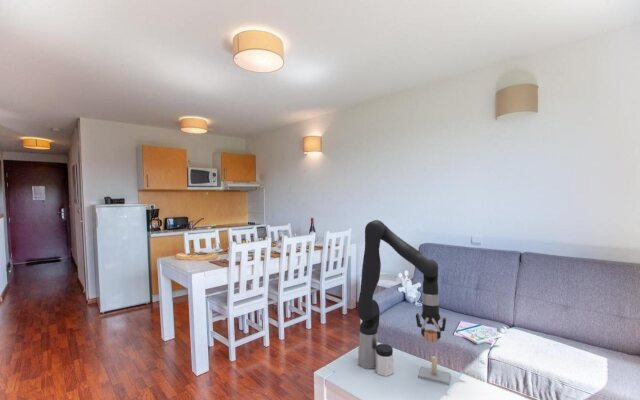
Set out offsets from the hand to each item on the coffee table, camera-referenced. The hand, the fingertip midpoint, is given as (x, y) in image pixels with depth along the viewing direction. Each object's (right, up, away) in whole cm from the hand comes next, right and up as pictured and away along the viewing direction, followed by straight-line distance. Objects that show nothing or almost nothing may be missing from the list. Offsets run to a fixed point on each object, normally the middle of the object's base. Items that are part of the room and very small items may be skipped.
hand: (431, 337), depth 149 cm
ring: (0, -1, 0) cm, 1 cm away
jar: (-21, -20, +7) cm, 30 cm away
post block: (+2, -20, +2) cm, 20 cm away
